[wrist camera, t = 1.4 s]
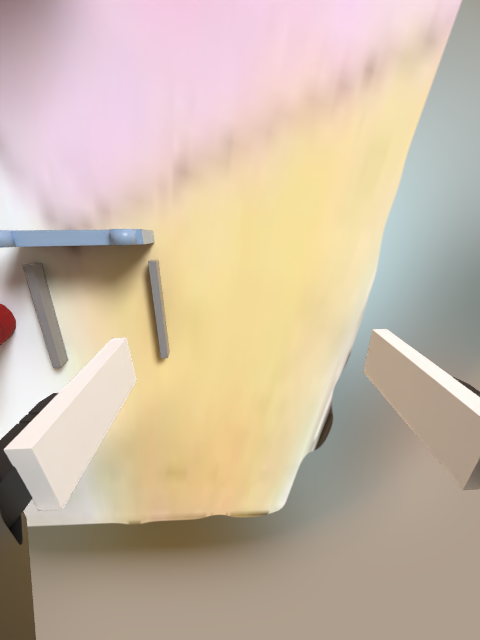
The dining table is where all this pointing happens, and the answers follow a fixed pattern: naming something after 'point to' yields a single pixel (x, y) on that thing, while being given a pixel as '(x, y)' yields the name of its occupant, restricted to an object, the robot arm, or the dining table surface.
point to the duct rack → (78, 238)
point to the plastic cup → (6, 323)
